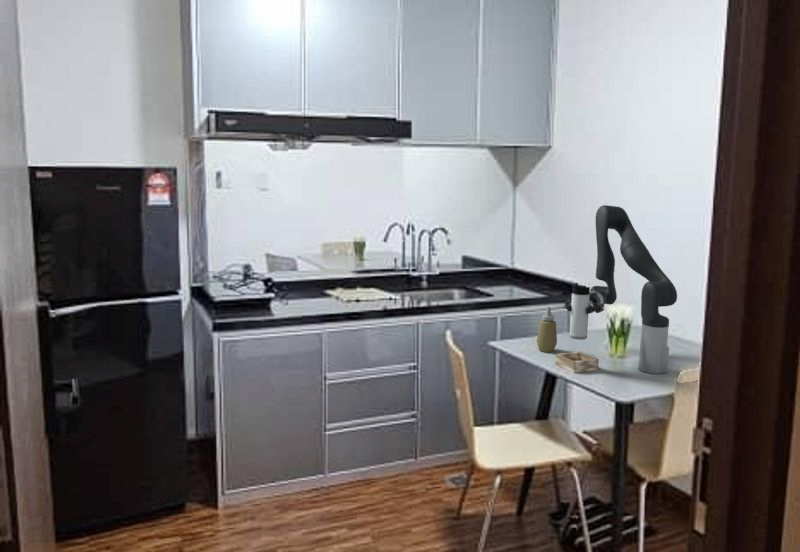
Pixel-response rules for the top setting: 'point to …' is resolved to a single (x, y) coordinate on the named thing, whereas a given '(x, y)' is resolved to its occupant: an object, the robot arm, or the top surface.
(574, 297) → the travel mug
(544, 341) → the squeeze bottle
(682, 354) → the top surface
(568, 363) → the birch dock
